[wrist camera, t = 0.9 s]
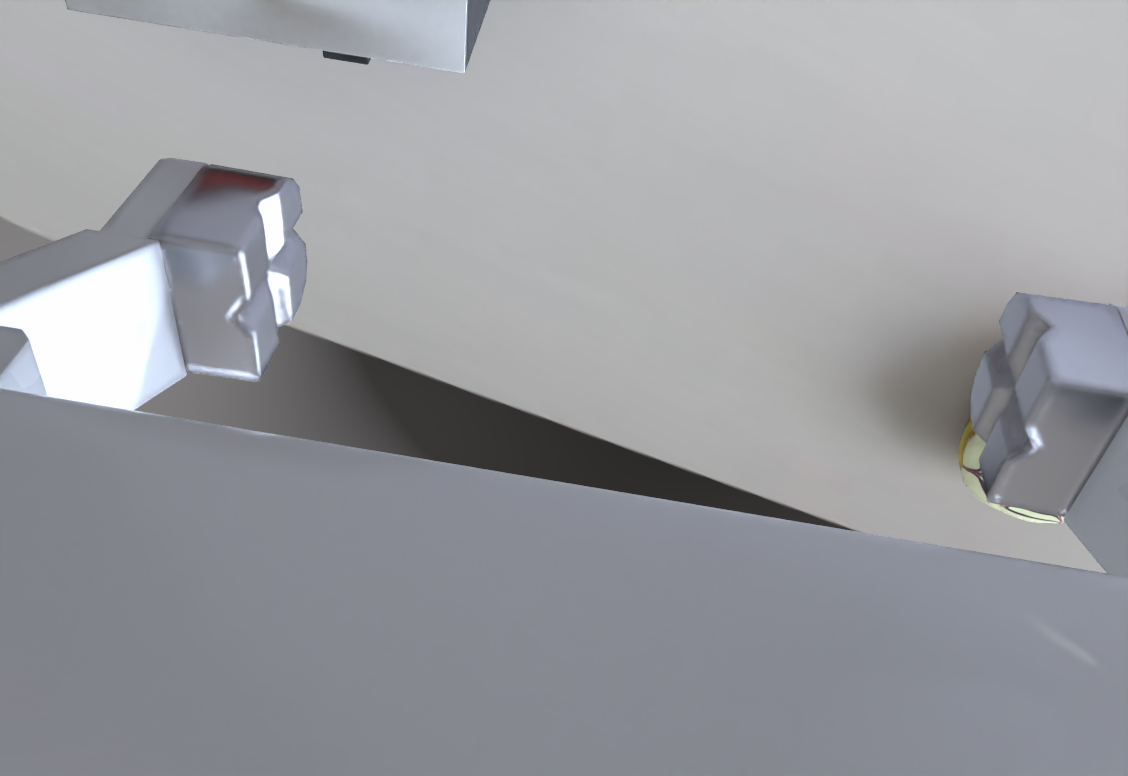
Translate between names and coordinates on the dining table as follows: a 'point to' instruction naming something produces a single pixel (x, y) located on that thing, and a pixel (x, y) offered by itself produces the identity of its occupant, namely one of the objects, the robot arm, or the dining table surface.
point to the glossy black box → (325, 25)
